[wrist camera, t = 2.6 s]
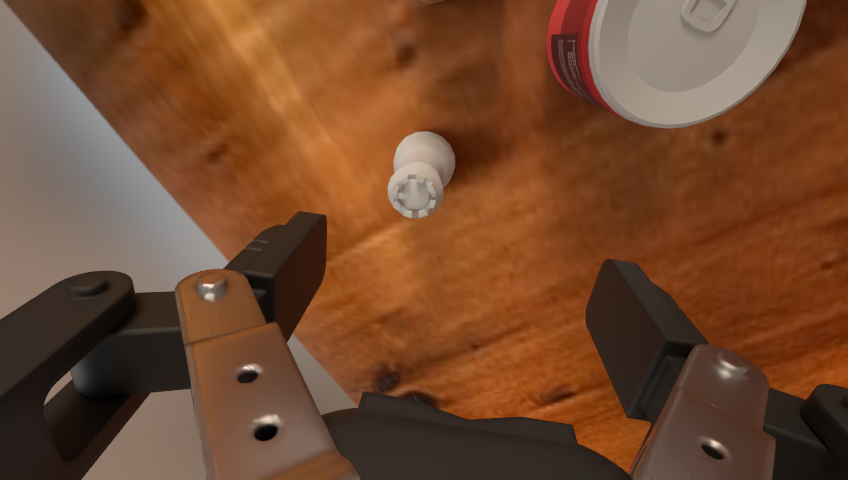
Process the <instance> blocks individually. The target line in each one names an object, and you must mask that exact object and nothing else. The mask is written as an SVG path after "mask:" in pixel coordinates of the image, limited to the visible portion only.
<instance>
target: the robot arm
mask: <svg viewBox="0 0 848 480" xmlns="http://www.w3.org/2000/svg"><path fill="white" fill-rule="evenodd" d="M326 243H327V218H326V216H325V215H322V214H315V213H309V212H302V211H298V212H297V213H296V214H295V215H294V216H293V217H292V218H291V219H290V220H289V221H288V223H287V224H286V225H276V226H273V227H271V228H269V229H266V230H264V231H262V232H261V233H260V234H259V235H258V236H257V237H256V238H255V239H254V241H253V242H251V243H250V244H249V245H248V246H247V247H246V249H243V250H242V251H241V252H240V253H239V254H238V255H237V256H236V257H235V258H234V259H233V260H232V261H231V262H230V263H229V264H228V265H227V266H226V267H225V268H223V269H212V270H205V271H200V272H197V273H194V274H192V275H189V276H188V277H186V278H184V279H182V280H181V281H180V282H179V283H178V284H177V286H176V288H175V291H172V292H149V293H135V291H134V286H133V281H132V279H131V277H129V276H128V275H126V274H124V273H121V272H116V271H94V272H88V273H83V274H79V275H75V276H72V277H69V278H67V279H64V280H63V281H60V282H58V283H56V284H55V285H53V286H51V287H50V288H48V289H47V290H45V291H44V292H42V293H41V294H39V295H38V296H36V297H35V298H33V299H31V300H30V301H28V302H27V303H25V304H24V305H22V306H21V307H19V308H18V309H16V310H15V311H13V312H11V313H10V314H8V315H7V316H5V317H4V318H2V319H1V320H0V480H81V479H82V478H83V477H84V475H85V474H86V473H87V472H88V471H89V469H90V468H91V467H92V466H93V464H94V463H95V462H96V461H97V459H98V458H99V457H100V456H101V454H102V453H103V452H104V451H105V449H106V448H107V447H108V445H109V444H110V443H111V442H112V440H113V439H114V438H115V437H116V435H117V434H118V433H119V432H120V430H121V429H122V428H123V426H124V425H125V424H126V423H127V422H128V420H129V419H130V418H131V417H132V415H133V414H134V413H135V412H136V410H137V409H138V408H139V407H140V405H141V404H142V403H143V401H144V400H145V399H146V398H147V397H148V395H149V394H150V393H151V392H161V391H172V390H182V389H191V395H192V400H193V406H194V411H195V418H196V423H197V429H198V435H199V440H200V446H201V451H202V457H203V463H204V468H205V475H206V480H848V389H846V388H843V387H840V386H836V385H830V384H821V385H818V386H816V388H815V389H814V390H813V392H812V393H811V394H810V396H809V397H808V398H807V400H804V399H801V398H798V397H795V396H793V395H790V394H787V393H784V392H781V391H778V390H775V389H772V388H769V382H768V379H767V378H766V376H765V375H764V373H763V372H762V371H761V370H760V369H759V368H758V367H757V366H755V365H754V364H753V363H752V362H750V361H749V360H747V359H746V358H744V357H742V356H740V355H738V354H736V353H734V352H732V351H730V350H728V349H725V348H722V347H719V346H715V345H710V344H709V343H708V342H707V340H706V339H705V338H704V337H703V335H702V334H701V333H700V332H699V331H698V329H697V328H696V327H695V326H694V324H693V323H692V322H691V321H690V320H689V318H686V315H685V314H684V312H683V311H682V310H681V309H680V308H678V305H677V304H676V303H675V301H674V300H673V299H672V298H671V296H670V295H669V294H668V293H666V292H665V291H664V290H662V289H661V288H659V287H658V286H657V285H655V284H654V283H652V282H651V281H650V280H649V278H648V277H647V276H646V275H645V273H644V272H643V271H642V270H641V268H640V267H639V266H638V265H637V264H636V263H632V262H626V261H619V260H612V259H607V260H605V261H604V263H603V264H602V266H601V269H600V271H599V274H598V277H597V280H596V282H595V285H594V288H593V290H592V293H591V296H590V298H589V301H588V304H587V308H586V325H587V328H588V330H589V332H590V334H591V337H592V339H593V341H594V343H595V346H596V348H597V350H598V352H599V355H600V357H601V359H602V362H603V364H604V366H605V368H606V371H607V373H608V375H609V377H610V380H611V382H612V384H613V386H614V389H615V391H616V393H617V396H618V398H619V400H620V402H621V405H622V407H623V409H624V411H625V414H626V416H627V418H632V419H639V420H645V421H650V423H651V427H650V429H649V431H648V432H647V434H646V436H645V438H644V440H643V442H642V444H641V447H640V449H639V451H638V453H637V455H636V457H635V459H634V461H633V463H632V465H631V467H630V469H629V471H628V473H626V472H625V471H624V470H623V469H622V468H620V467H619V466H617V465H616V464H615V463H613V462H612V461H610V460H609V459H607V458H605V457H604V456H602V455H600V454H599V453H597V452H595V451H593V450H591V449H589V448H587V447H585V446H583V445H580V444H578V443H577V439H576V436H575V432H574V429H573V425H570V424H563V423H557V422H551V421H545V420H538V419H532V418H526V417H507V418H491V419H475V420H469V419H464V418H461V417H458V416H456V415H453V414H450V413H448V412H445V411H443V410H440V409H437V408H435V407H432V406H430V405H427V404H424V403H422V402H419V401H416V400H413V399H407V398H401V397H395V396H388V395H382V394H376V393H370V392H363V394H362V397H361V401H360V404H359V408H352V409H351V408H350V409H344V410H338V411H335V412H331V413H327V414H324V415H320V413H319V410H318V408H317V406H316V404H315V402H314V400H313V398H312V396H311V393H310V391H309V389H308V387H307V385H306V383H305V381H304V379H303V376H302V374H301V372H300V370H299V368H298V366H297V364H296V362H295V360H294V358H293V355H292V353H291V351H290V349H289V347H288V345H287V342H288V340H289V338H290V337H291V335H292V333H293V331H294V330H295V328H296V326H297V325H298V323H299V321H300V319H301V318H302V316H303V314H304V312H305V311H306V309H307V307H308V306H309V304H310V302H311V300H312V299H313V297H314V295H315V293H316V292H317V290H318V288H319V287H320V285H321V283H322V280H323V277H324V273H325V268H326ZM68 371H70V373H71V376H72V380H71V381H70V382H69V383H68V384H67V385H66V386H65V387H64V388H62V390H60V391H59V392H58V393H57V394H56V395H55V396H54V397H53V398H52V399H51V400H50V401H49V402H48V403H46V405H44V402H45V399H46V397H47V395H48V393H49V391H50V390H51V388H52V387H53V386H54V385H55V384H56V382H58V381H59V380H60V379H61V378H62V377H63V376H64V375H65V374H66V373H67V372H68Z"/></svg>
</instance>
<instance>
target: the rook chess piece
mask: <svg viewBox="0 0 848 480" xmlns="http://www.w3.org/2000/svg"><path fill="white" fill-rule="evenodd" d="M393 163H394V173H395V174H394V175H393V176H392V177H391V179H390V182H389V185H388V196H389V200H390V201H391V203H392V205H393V207H394V208H395V209H396V210H397V211H399V212H400V213H401V214H402V215H403V216H406V217H409V218H423V217H425V216H428V215H430V214H432V213H434V212H435V210H436V209H437V208H438V207H439V206H440V204H441V202H442V199H443V196H444V195H443V188H444V187H445V186H446V185H447V184H448V183H449V182H450V180H451V177H452V175H453V172H454V169H455V154H454V152H453V150H452V148H451V146H450V144H449V143H448V142H447V141H446V140H445V139H444V138H443V137H441V136H440V135H437V134H435V133H432V132H429V131H427V132H415V133H413V134H411V135H409V136H407V137H405V139H404V140H403V141H402V142H401V143H400V144H399V146H398V147H397V150H396V154H395V157H394V161H393Z"/></svg>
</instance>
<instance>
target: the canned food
mask: <svg viewBox="0 0 848 480" xmlns="http://www.w3.org/2000/svg"><path fill="white" fill-rule="evenodd" d="M806 1H807V0H558V1H557V3H556V5H555V8H554V10H553V12H552V15H551V17H550V22H549V26H548V30H547V42H546V47H547V56H548V60H549V63H550V67H551V70H552V72H553V73H554V75H555V77H556V78H557V80H558V81H559V82H560V83H561V84H562V86H563V87H564V88H565V89H567V90H568V91H570V92H571V93H573V94H574V95H576V96H578V97H580V98H582V99H584V100H587V101H589V102H591V103H593V104H595V105H597V106H599V107H601V108H603V109H605V110H607V111H609V112H611V113H613V114H615V115H617V116H619V117H622V118H625V119H627V120H629V121H632V122H635V123H638V124H640V125H644V126H650V127H658V128H680V127H687V126H691V125H695V124H698V123H702V122H705V121H707V120H710V119H712V118H714V117H716V116H719V115H721V114H723V113H725V112H726V111H728V110H729V109H731V108H733V107H734V106H736V105H737V104H739V103H740V102H742V101H743V100H744V99H745V98H747V97H748V96H749V95H750V94H751V93H752V92H754V91H755V90H756V89H757V88H758V87H759V86H760V85H761V84H762V83H763V82H764V81H765V80H766V79H767V77H768V76H769V75H770V74H771V73H772V72H773V71H774V70H775V68H776V67H777V65H778V64H779V62H780V61H781V59H782V58H783V57H784V55H785V54H786V52H787V51H788V49H789V47H790V45H791V43H792V41H793V39H794V37H795V35H796V33H797V30H798V28H799V26H800V23H801V19H802V16H803V13H804V9H805V6H806Z"/></svg>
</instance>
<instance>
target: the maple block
mask: <svg viewBox="0 0 848 480" xmlns="http://www.w3.org/2000/svg"><path fill="white" fill-rule="evenodd" d="M420 1H421V2H422V3H423V4H424V5H430V4H434V3H438V2H442V1H446V0H420Z"/></svg>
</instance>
